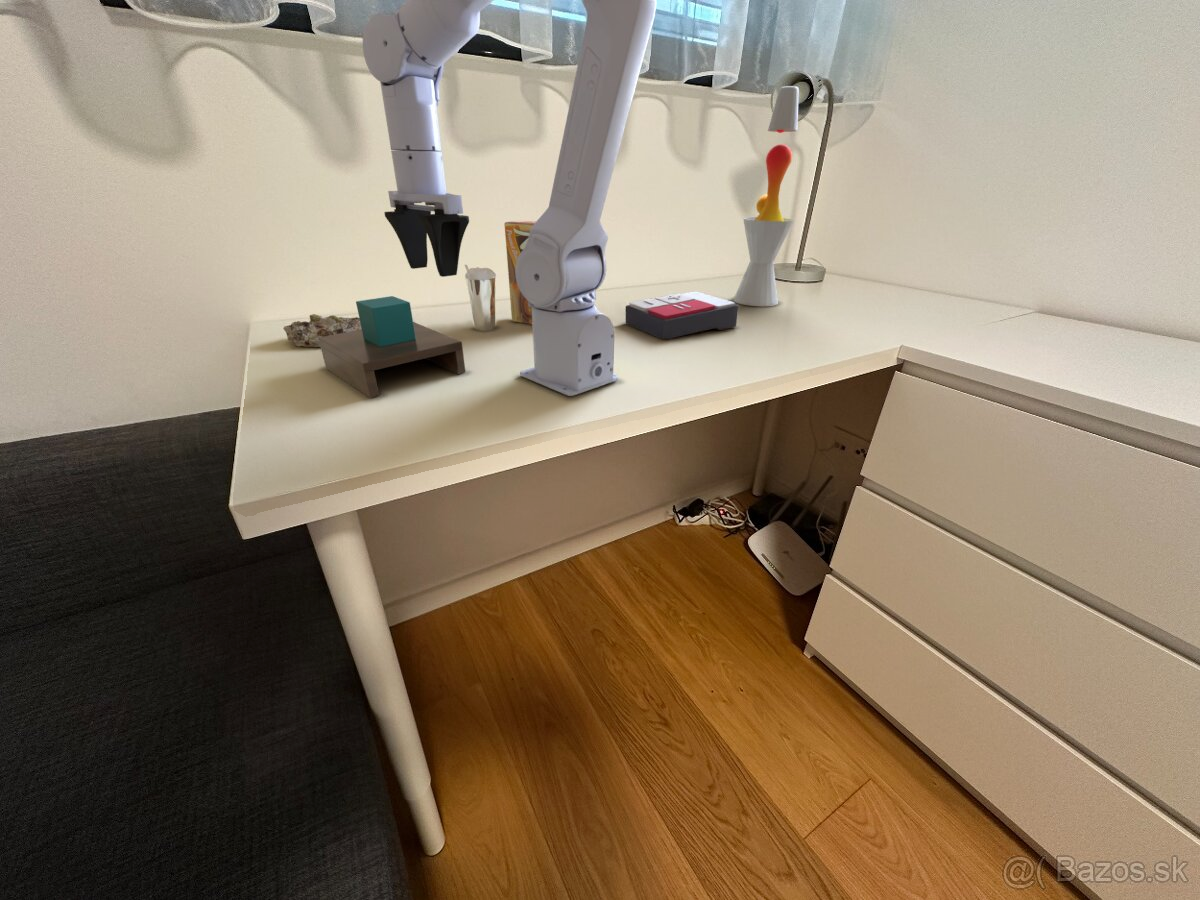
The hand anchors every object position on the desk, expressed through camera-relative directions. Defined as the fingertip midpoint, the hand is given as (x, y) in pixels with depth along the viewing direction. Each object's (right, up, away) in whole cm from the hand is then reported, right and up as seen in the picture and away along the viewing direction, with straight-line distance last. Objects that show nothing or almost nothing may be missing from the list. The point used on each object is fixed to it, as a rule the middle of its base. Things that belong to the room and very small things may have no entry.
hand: (433, 271), depth 67 cm
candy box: (+12, -2, +18) cm, 22 cm away
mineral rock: (-18, -7, +8) cm, 21 cm away
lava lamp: (+53, +6, +35) cm, 63 cm away
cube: (-4, -10, -5) cm, 12 cm away
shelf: (-4, -13, -3) cm, 14 cm away
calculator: (+35, -3, +18) cm, 40 cm away
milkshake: (+3, -4, +14) cm, 15 cm away
